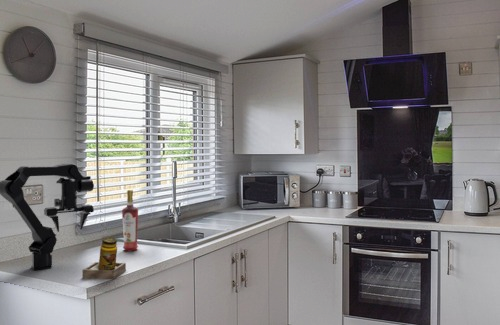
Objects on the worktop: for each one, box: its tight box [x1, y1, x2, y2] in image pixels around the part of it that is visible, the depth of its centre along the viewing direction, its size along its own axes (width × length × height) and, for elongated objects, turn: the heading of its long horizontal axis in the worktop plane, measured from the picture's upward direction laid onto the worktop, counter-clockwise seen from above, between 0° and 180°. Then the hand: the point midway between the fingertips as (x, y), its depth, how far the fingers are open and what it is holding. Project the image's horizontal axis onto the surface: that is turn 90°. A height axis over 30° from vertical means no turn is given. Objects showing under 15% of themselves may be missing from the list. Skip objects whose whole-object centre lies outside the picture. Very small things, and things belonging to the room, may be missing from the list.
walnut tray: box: [81, 261, 127, 280], centre depth 170 cm, size 12×11×3 cm
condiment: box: [90, 237, 118, 270], centre depth 169 cm, size 7×8×12 cm
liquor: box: [121, 189, 139, 252], centre depth 208 cm, size 7×7×28 cm
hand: (69, 230), depth 189 cm, fingers open, 9 cm apart
